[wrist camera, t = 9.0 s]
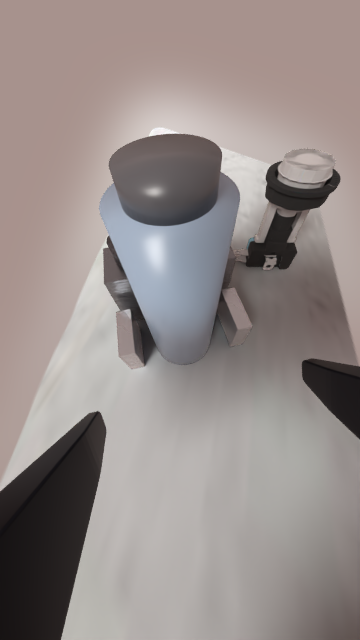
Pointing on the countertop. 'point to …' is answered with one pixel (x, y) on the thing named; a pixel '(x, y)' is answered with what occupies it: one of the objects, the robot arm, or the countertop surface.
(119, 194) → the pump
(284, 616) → the countertop surface
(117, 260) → the motor block
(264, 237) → the push button
